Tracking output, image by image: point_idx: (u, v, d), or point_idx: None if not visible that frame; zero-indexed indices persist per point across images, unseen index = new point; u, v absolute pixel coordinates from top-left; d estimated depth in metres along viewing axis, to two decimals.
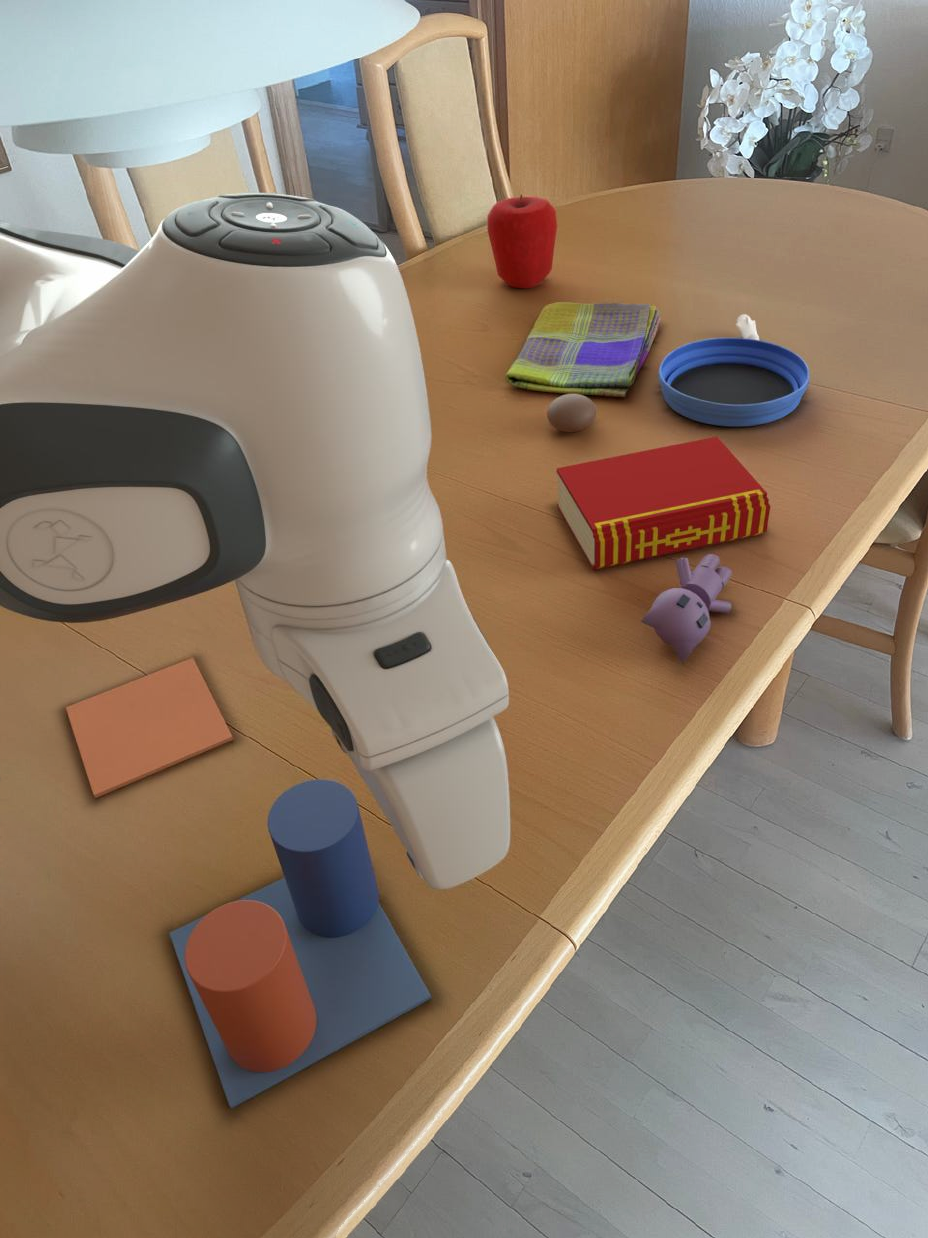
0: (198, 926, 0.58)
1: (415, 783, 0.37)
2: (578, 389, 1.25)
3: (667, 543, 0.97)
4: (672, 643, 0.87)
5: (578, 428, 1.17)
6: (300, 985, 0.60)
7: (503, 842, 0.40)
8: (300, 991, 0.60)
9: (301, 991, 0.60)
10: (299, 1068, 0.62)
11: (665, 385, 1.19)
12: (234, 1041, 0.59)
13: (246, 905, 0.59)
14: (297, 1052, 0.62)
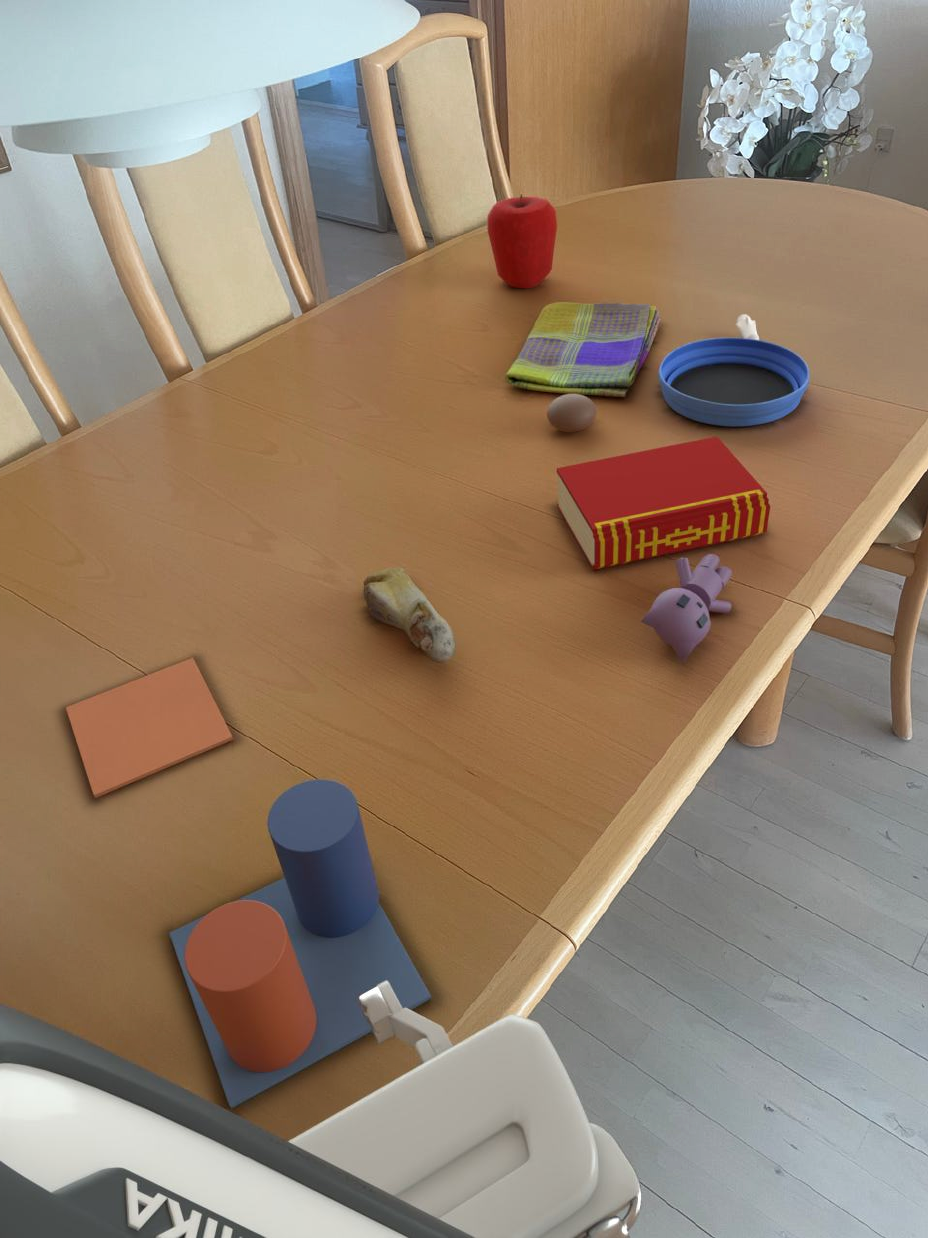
0: (198, 926, 0.58)
1: None
2: (578, 389, 1.25)
3: (667, 543, 0.97)
4: (672, 643, 0.87)
5: (578, 428, 1.17)
6: (300, 985, 0.60)
7: None
8: (300, 991, 0.60)
9: (301, 991, 0.60)
10: (299, 1068, 0.62)
11: (665, 385, 1.19)
12: (234, 1041, 0.59)
13: (246, 905, 0.59)
14: (297, 1052, 0.62)
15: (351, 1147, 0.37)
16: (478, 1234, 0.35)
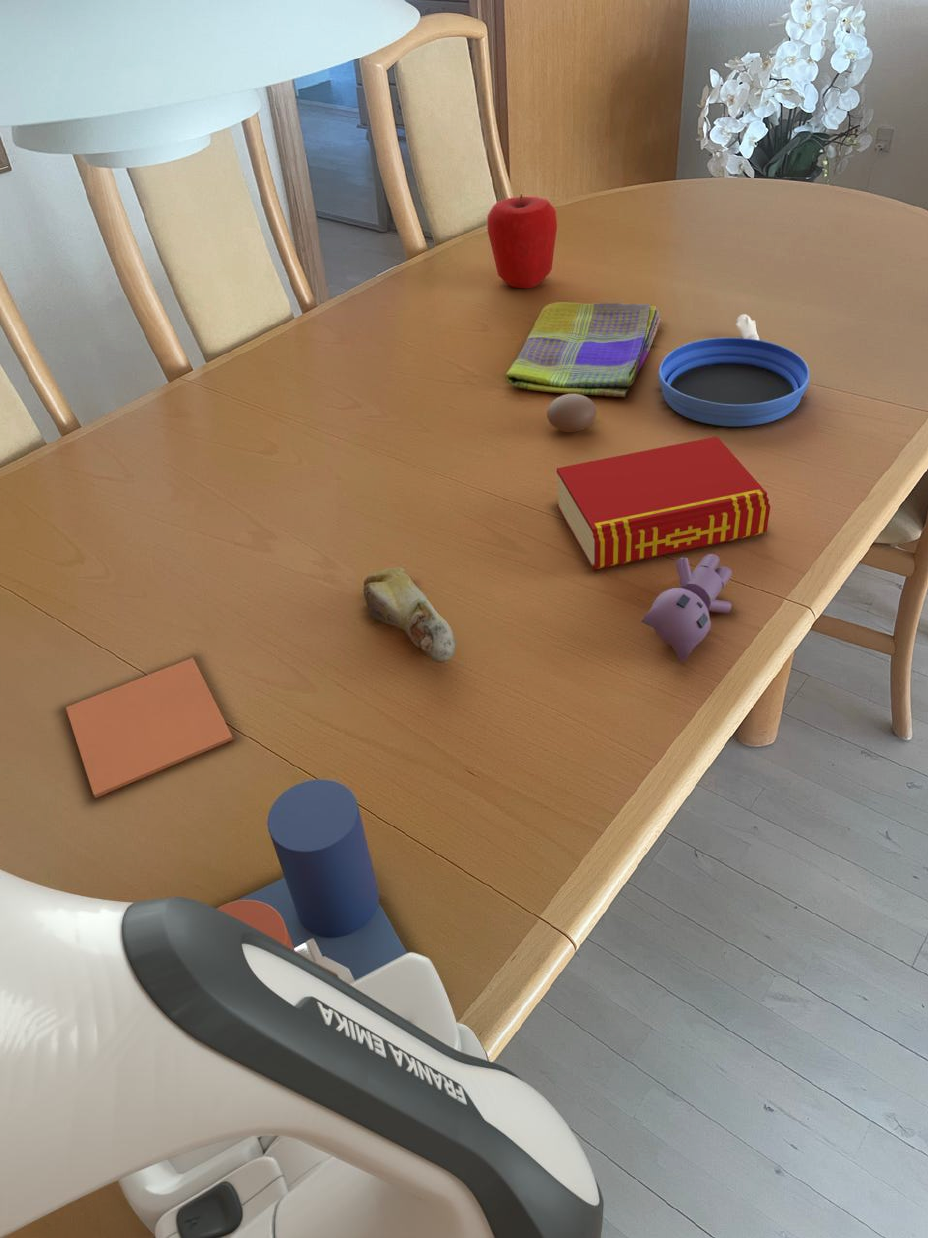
0: None
1: (147, 1222, 0.50)
2: (578, 389, 1.25)
3: (667, 543, 0.97)
4: (672, 643, 0.87)
5: (578, 428, 1.17)
6: None
7: None
8: None
9: None
10: None
11: (665, 385, 1.19)
12: None
13: (246, 905, 0.59)
14: None
15: None
16: None
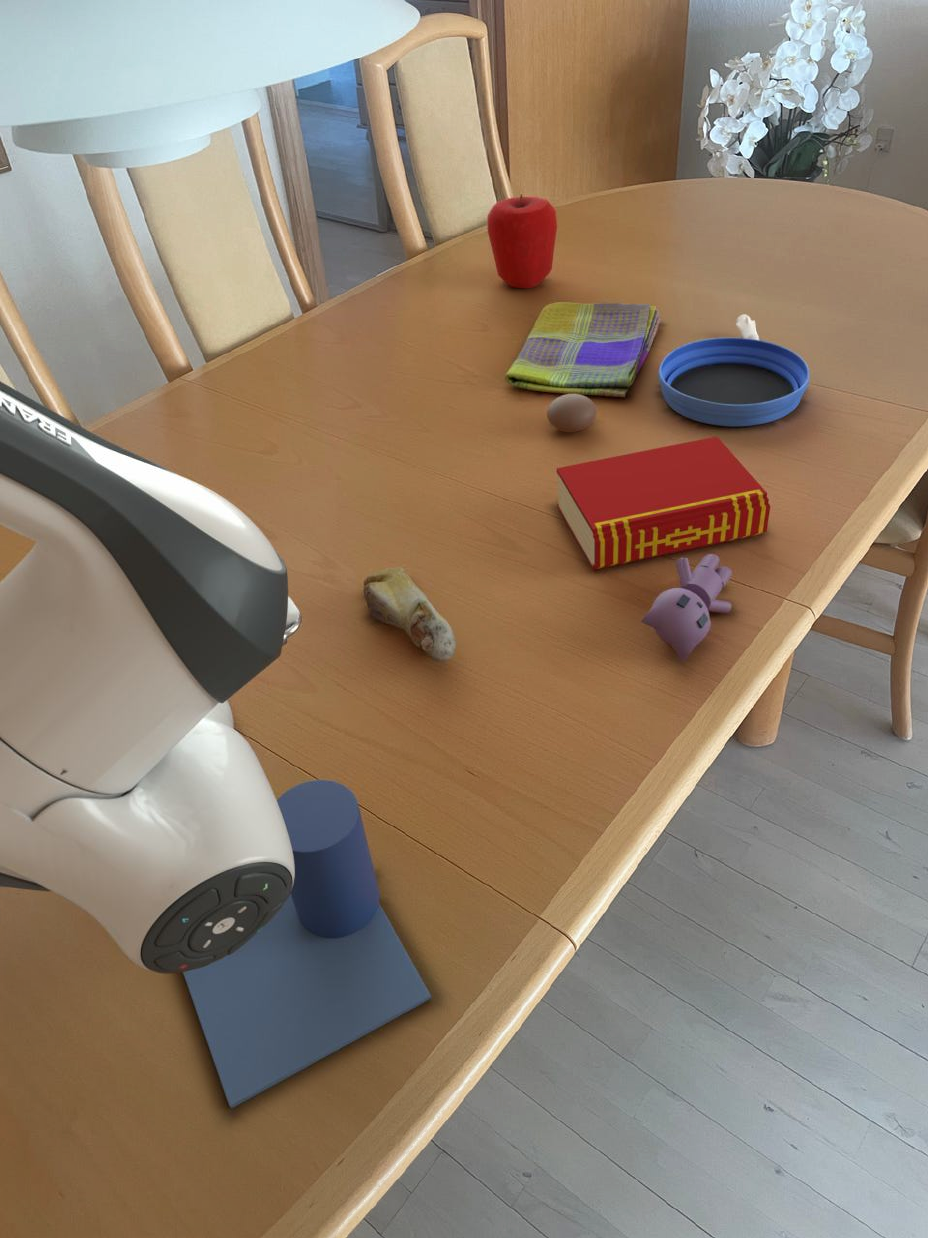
0: None
1: None
2: (578, 389, 1.25)
3: (667, 543, 0.97)
4: (672, 643, 0.87)
5: (578, 428, 1.17)
6: None
7: None
8: None
9: None
10: (299, 1068, 0.62)
11: (665, 385, 1.19)
12: None
13: None
14: None
15: None
16: None
